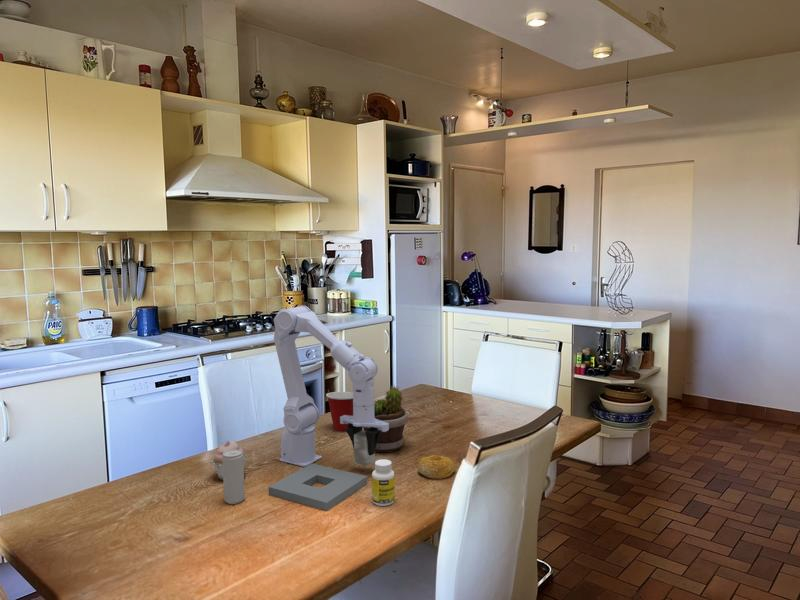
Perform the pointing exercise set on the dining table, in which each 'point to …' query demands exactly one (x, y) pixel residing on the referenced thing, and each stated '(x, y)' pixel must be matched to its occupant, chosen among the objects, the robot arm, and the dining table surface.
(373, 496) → the supplement bottle
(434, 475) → the bagel
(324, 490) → the socket board
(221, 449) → the cupcake
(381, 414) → the flowerpot
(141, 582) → the dining table surface
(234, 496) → the beverage can
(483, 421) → the dining table surface
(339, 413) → the plastic cup
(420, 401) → the dining table surface
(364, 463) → the peg
